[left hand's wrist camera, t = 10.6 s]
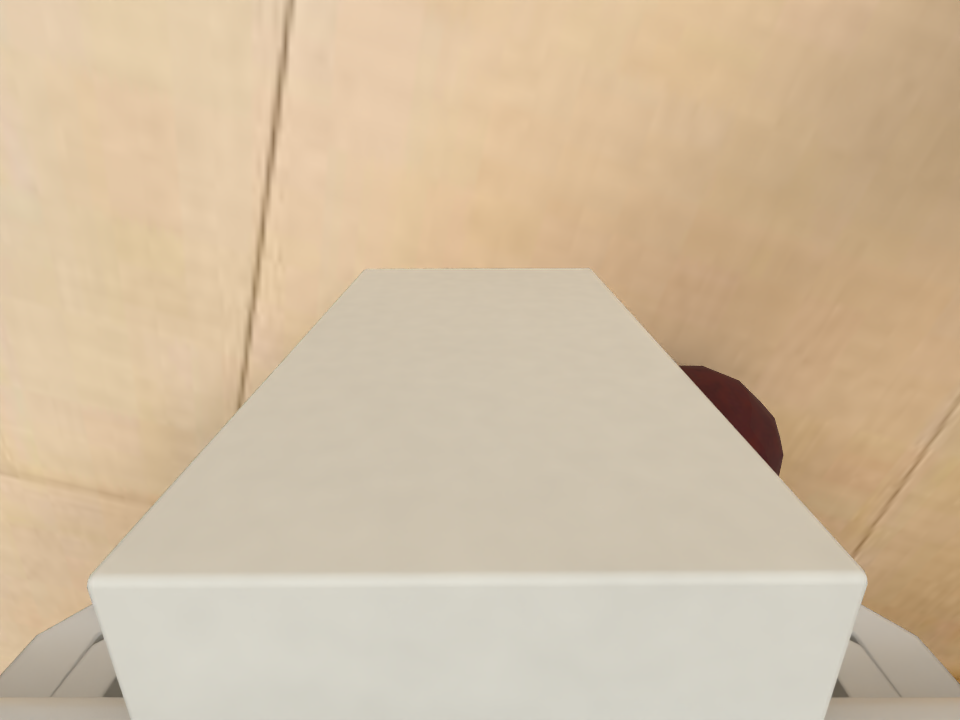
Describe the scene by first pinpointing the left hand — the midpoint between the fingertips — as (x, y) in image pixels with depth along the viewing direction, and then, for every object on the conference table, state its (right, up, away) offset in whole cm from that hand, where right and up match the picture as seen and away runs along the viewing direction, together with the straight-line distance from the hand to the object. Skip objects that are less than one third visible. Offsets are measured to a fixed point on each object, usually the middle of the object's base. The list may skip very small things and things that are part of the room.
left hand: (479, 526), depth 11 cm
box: (0, -7, +9) cm, 12 cm away
